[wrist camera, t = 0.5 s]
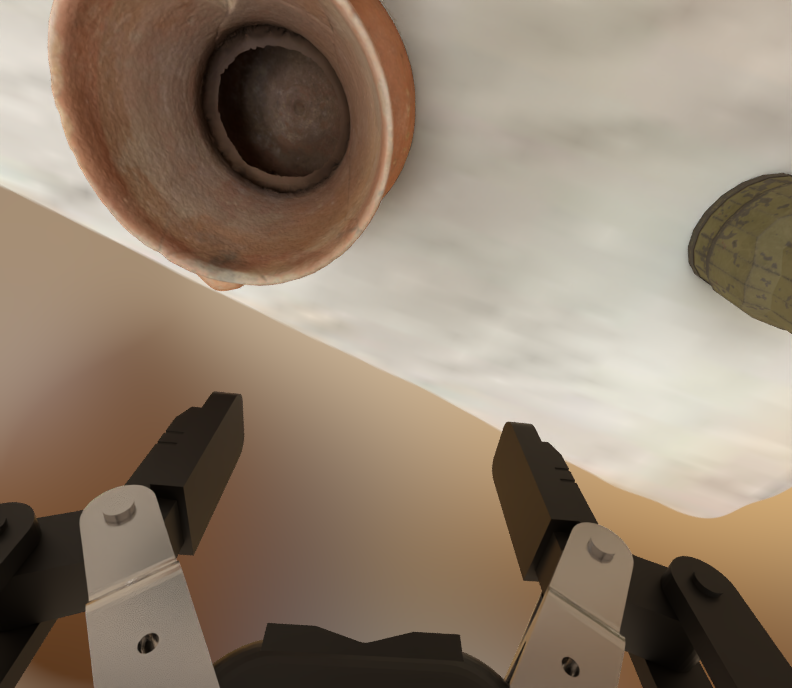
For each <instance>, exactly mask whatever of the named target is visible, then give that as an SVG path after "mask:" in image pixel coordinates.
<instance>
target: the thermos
mask: <svg viewBox="0 0 792 688" xmlns="http://www.w3.org/2000/svg"><path fill="white" fill-rule="evenodd" d="M688 257H689V264H690V266H691V267H692V269H693V271H694V273H695V274H696V275H697V276H699V277H700V278H701V279H703V280H704V281H706V282H707V283H708V284H710V285H711V286H712V288H713V290H714V291H716V292H717V293H719V294H720V295H721V296H723V297H724V298H726V299H727V300H728V301H730V302H731V303H733V304H734V305H735V306H737V307H738V308H740V309H741V310H742V311H744V312H745V313H747V314H748V315H749V316H751V317H752V318H755V319H757V320H760V321H762V322H765V323H767V324H770V325H772V326H775V327H777V328H780V329H783V330H787V331H788V332H790V333H791V334H792V175H788V174H785V173H780V174H770V175H762V176H759V177H757V178H754V179H751V180H749V181H746V182H743V183H741V184H739V185H738V186H736V187H735V188H733V189H732V190H730V191H729V192H727V193H726V194H724V195H722V196H721V197H720V198H719V199H718V200H717V201H716V202H715V203H714V204H713V205H712V206H711V207H710V208H709V209H708V210H707V211H706V212H705V213H704V215H703V216H702V218H701V219H700V221H699V222H698V224H697V226H696V227H695V229H694V230H693V233H692V237H691V240H690V243H689V246H688Z"/></svg>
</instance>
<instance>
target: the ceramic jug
mask: <svg viewBox="0 0 792 688" xmlns="http://www.w3.org/2000/svg"><path fill="white" fill-rule="evenodd" d="M48 60H49V66H50V73H51V83H52V85H51V88H52V93H53V96H54V99H55V104H56V107H57V109H58V111H59V113H60V117H61V123H62V126H63V129H64V132H65V136H66V138H67V141H68V144H69V146H70V149H71V150H72V151H73V153H74V155H75V157H76V159H77V162H78V165H79V167H80V168H81V170H82V171H83V173H84V175H85V177H86V179H87V180H88V182H89V183H90V185H91V186H92V188H93V189H94V191H95V192H96V194H97V195H98V197H99V198H100V200H101V201H102V203H103V204H104V205H105V206H106V207H107V208H108V209H109V211H110V212H111V214H112V215H113V216H114V217H115V218H116V219H117V220H118V221H119V222H120V224H121V225H122V226H123V227H124V228H125V229H126V230H127V231H128V232H130V233H131V234H132V235H133V236H134V237H136V238H137V239H138V240H140V241H141V242H142V243H143V244H144V245H146V246H148V247H150V248H152V249H153V250H155V251H158V252H160V253H161V254H162V255H163V256H164V257H165V258H167V259H168V260H169V261H170V262H172V263H174V264H176V265H178V266H180V267H182V268H184V269H186V270H188V271H190V272H193V273H196V274H197V275H198V276H199V277H200V278H201V279H202V280H203V281H204V282H205V283H206V284H208V285H209V286H210V287H211V288H213V289H215V290H218V291H227V290H233V289H237V288H240V287H241V286H243V285H258V286H262V285H274V284H281V283H285V282H288V281H292V280H296V279H300V278H302V277H305V276H307V275H310V274H313V273H315V272H316V271H318V270H320V269H321V268H323V267H325V266H327V265H328V264H330V263H331V262H332V261H333V260H335V259H336V258H338V257H339V256H341V255H342V254H343V253H344V252H345V251H346V250H347V249H349V248H350V247H351V246H352V244H353V243H354V242H355V241H356V240H357V239H358V238H359V237H360V235H361V234H362V233H363V231H364V230H365V229H366V227H367V226H368V224H369V223H370V221H371V220H372V218H373V216H374V214H375V213H376V211H377V209H378V207H379V204H380V202H381V200H382V199H383V197H384V196H385V195H386V194H387V193H388V191H389V190H390V189H391V187H392V186H393V184H394V183H395V181H396V180H397V178H398V176H399V174H400V172H401V170H402V168H403V166H404V164H405V161H406V159H407V156H408V153H409V150H410V147H411V143H412V138H413V132H414V124H415V87H414V80H413V75H412V70H411V65H410V63H409V59H408V56H407V53H406V50H405V47H404V44H403V42H402V40H401V37H400V35H399V33H398V31H397V29H396V27H395V25H394V23H393V21H392V19H391V18H390V16H389V15H388V13H387V11H386V10H385V8H384V7H383V5H382V4H381V2H380V1H379V0H54V1H53V5H52V9H51V13H50V19H49V31H48Z"/></svg>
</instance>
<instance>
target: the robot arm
mask: <svg viewBox="0 0 792 688" xmlns="http://www.w3.org/2000/svg"><path fill="white" fill-rule="evenodd" d="M243 442H244V421H243V401H242V396H241V394H235V393H225V392H213V393H212V394H211V395H210V397H209V398H208V399H207V401H206V402H205V404H204V405H203V407H202V408H199V407H191V408H189V409H188V410H186V411H185V412H183V413H182V414H180V415H179V416H177V417H176V418H175V419H174V420H173V422H172V423H171V424H170V426H169V427H168V429H167V430H166V433H164V434H163V435H162V436H161V438H160V439H159V441H158V443H157V444H155V446H154V447H153V448H152V450H151V451H150V452H149V454H148V455H147V456H146V458H145V459H144V460H143V461H142V463H141V464H140V466H139V467H138V468H137V470H136V471H135V472H134V473H133V475H132V476H131V477H130V479H129V480H128V481H127V483H126V484H125V485H124V486H120V487H117V488H114V489H111V490H109V491H107V492H105V493H103V494H101V495H100V496H98V497H96V498H95V499H94V500H92V501H91V502H90V503H89V504H88V505H87V507H86V508H85V509H84V510H80V511H76V512H70V513H65V514H58V515H52V516H47V517H41V518H36V516H35V513H34V511H33V509H32V508H31V507H30V506H28V505H26V504H23V503H17V502H12V503H2V504H0V688H15V686H16V684H17V683H18V681H19V680H20V678H21V676H22V674H23V673H24V671H25V670H26V668H27V667H28V665H29V664H30V662H31V660H32V659H33V657H34V656H35V654H36V652H37V651H38V649H39V647H40V646H41V644H42V643H43V641H44V639H45V638H46V636H47V635H48V633H49V631H50V630H51V628H52V627H53V625H54V623H55V622H56V620H57V619H58V618H61V617H65V616H69V615H73V614H77V613H81V612H85V611H86V620H87V629H88V638H89V646H90V655H91V663H92V671H93V680H94V688H617V687H618V682H619V676H620V671H621V666H622V660H623V656H624V651H627V652H628V653H629V655H630V657H631V660H632V662H633V665H634V667H635V670H636V672H637V675H638V677H639V679H640V682H641V684H642V687H643V688H713V687H712V685H711V683H710V681H709V679H708V677H707V675H706V674H705V672H704V670H703V668H702V666H701V664H700V662H699V660H701V662H702V664H703V665H704V667H705V669H706V671H707V673H708V675H709V677H710V678H711V680H712V682H713V684H714V686H715V688H792V667H791V666H790V665H789V663H788V662H787V660H786V659H785V658H784V656H783V655H782V653H781V652H780V650H779V649H778V648H777V646H776V645H775V644H774V642H773V641H772V639H771V638H770V636H769V635H768V633H767V632H766V631H765V629H764V628H763V626H762V625H761V624H760V622H759V621H758V619H757V618H756V616H755V615H754V614H753V612H752V611H751V609H750V608H749V607H748V605H747V604H746V602H745V601H744V599H743V598H742V597H741V595H740V594H739V592H738V591H737V590H736V588H735V587H734V586H733V584H732V583H731V582H730V581H729V580H728V579H727V578H726V577H725V576H724V575H723V574H722V573H720V572H719V571H718V570H716V569H715V568H713V567H712V566H710V565H709V564H707V563H705V562H703V561H701V560H698V559H695V558H693V557H688V556H687V557H686V556H681V557H677V558H675V559H674V560H673V561H672V562H671V564H670V565H669V567H665V566H662V565H659V564H657V563H654V562H651V561H648V560H645V559H643V558H640V557H637V556H635V555H632V554H631V552H630V550H629V548H628V547H627V545H626V544H625V543H624V542H623V541H622V539H621V538H619V537H618V536H617V535H616V534H615V533H613V532H612V531H610V530H609V529H607V528H605V527H603V526H601V525H598V523H597V521H596V519H595V517H594V515H593V513H592V512H591V510H590V508H589V506H588V504H587V502H586V500H585V498H584V496H583V495H582V493H581V491H580V489H579V487H578V485H577V483H575V480H574V478H573V476H572V474H571V472H570V471H569V468H568V466H567V465H566V463H565V461H564V459H563V457H562V455H561V454H560V453H559V452H558V451H557V450H556V449H555V448H554V447H553V446H552V445H551V444H550V443H549V442H542V441H541V439H540V437H539V435H538V433H537V431H536V429H535V427H534V426H533V425H532V424H526V423H516V422H506V424H505V425H504V428H503V431H502V434H501V437H500V440H499V443H498V446H497V449H496V453H495V456H494V459H493V465H492V474H493V480H494V483H495V487H496V490H497V493H498V497H499V500H500V503H501V507H502V510H503V514H504V517H505V520H506V524H507V527H508V530H509V534H510V537H511V540H512V544H513V547H514V550H515V553H516V557H517V560H518V564H519V567H520V570H521V574H522V577H523V580H524V581H537V582H539V583H540V586H541V589H542V592H541V594H540V596H539V599H538V601H537V603H536V606H535V608H534V610H533V613H532V616H531V617H530V620H529V623H528V625H527V627H526V629H525V632H524V634H523V637H522V639H521V641H520V644H519V646H518V649H517V651H516V654H515V655H514V658H513V660H512V662H511V664H510V667H509V669H508V671H507V673H506V676H505V678H504V679H503V678H502V677H501V676H500V675H498V674H497V673H496V672H495V671H494V670H493V669H491V668H490V667H489V666H487V665H486V664H484V663H483V662H482V661H480V660H479V659H477V658H475V657H473V656H471V655H468V654H467V653H464V652H462V648H461V641H460V635H456V634H440V633H423V632H412V633H407V634H403V635H399V636H394V637H391V638H386V639H382V640H378V641H374V642H369V643H362V642H358V641H356V640H353V639H350V638H348V637H345V636H342V635H339V634H336V633H334V632H331V631H328V630H326V629H323V628H320V627H317V626H308V625H290V624H275V623H268V624H267V627H266V631H265V635H264V639H263V640H260V641H255V642H252V643H250V644H247V645H244V646H242V647H240V648H238V649H236V650H234V651H232V652H230V653H228V654H226V655H225V656H223V657H222V658H220V659H219V660H217V661H216V662H215V663H214V664H212V662H211V658H210V655H209V652H208V649H207V646H206V643H205V640H204V637H203V634H202V631H201V628H200V625H199V621H198V618H197V615H196V612H195V609H194V606H193V603H192V600H191V596H190V593H189V590H188V587H187V584H186V581H185V578H184V575H183V572H182V569H181V566H180V563H179V561H176V558H177V556H178V554H180V555H194V554H195V551H196V549H197V547H198V545H199V543H200V541H201V538H202V536H203V534H204V532H205V530H206V528H207V526H208V524H209V521H210V519H211V517H212V515H213V512H214V511H215V508H216V506H217V504H218V502H219V500H220V498H221V496H222V494H223V491H224V489H225V487H226V485H227V483H228V480H229V478H230V476H231V474H232V472H233V470H234V468H235V465H236V463H237V461H238V459H239V457H240V454H241V452H242V447H243Z"/></svg>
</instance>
